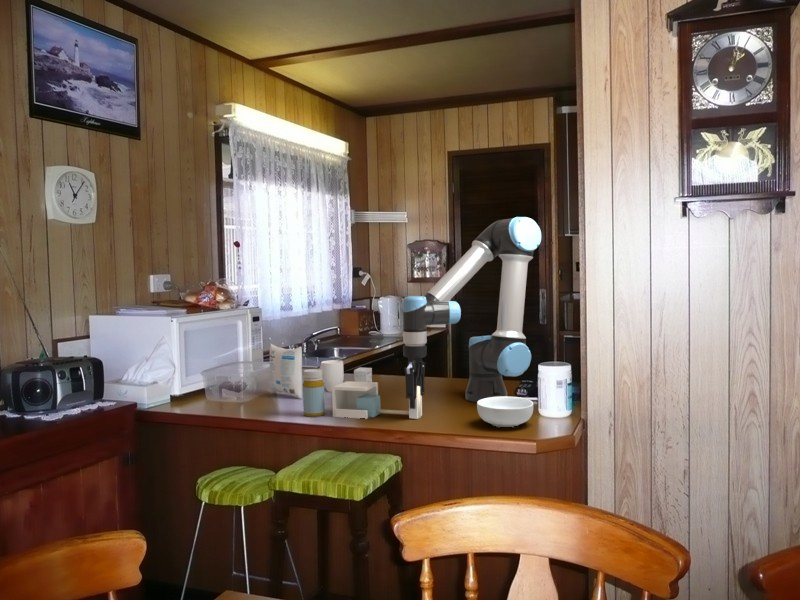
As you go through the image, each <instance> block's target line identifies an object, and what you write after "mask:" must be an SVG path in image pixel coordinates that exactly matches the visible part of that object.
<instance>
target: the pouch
mask: <svg viewBox="0 0 800 600" xmlns="http://www.w3.org/2000/svg"><path fill="white" fill-rule="evenodd" d="M269 345H270V346H269V392H270V394H271V395H272V394H274V393H276V392H277V393H286V394H289V395H292V396H295V398H298V399H300V400H303V350H302V346H298V347H296V348H284V347H280V346H276V345H275V344H273V343H270V344H269Z"/></svg>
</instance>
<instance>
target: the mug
mask: <svg viewBox="0 0 800 600" xmlns="http://www.w3.org/2000/svg"><path fill="white" fill-rule="evenodd" d="M318 369H321V370H322V380H323V383H324V388H325V389H326V391H327V392H329V393H332V390H333V387H334V386H336V385H339V384H341V383H344V377H345V376H344V360H340V359H339V360H338V359H335V360H334V359H331V360H323V361H321V362H320V367H319V368H318Z"/></svg>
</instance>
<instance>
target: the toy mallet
mask: <svg viewBox="0 0 800 600" xmlns="http://www.w3.org/2000/svg"><path fill="white" fill-rule="evenodd" d="M416 398H418V419H421V418H422V416H421V400H420V386H417V397H416ZM356 403H357V410H368V418H375V417H377V416H378V415H380V414H391V415H408V416H409V410H401V409H399V410H397V409H382V408H381V407H382V406H381V394H380V395H379V394H378V395H362V396H360V397H358V398H356Z"/></svg>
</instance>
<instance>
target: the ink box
mask: <svg viewBox="0 0 800 600" xmlns="http://www.w3.org/2000/svg"><path fill="white" fill-rule="evenodd" d="M372 369H373V368H372V367H357V368H355V369H354V370H353V382H373V370H372Z"/></svg>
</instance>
